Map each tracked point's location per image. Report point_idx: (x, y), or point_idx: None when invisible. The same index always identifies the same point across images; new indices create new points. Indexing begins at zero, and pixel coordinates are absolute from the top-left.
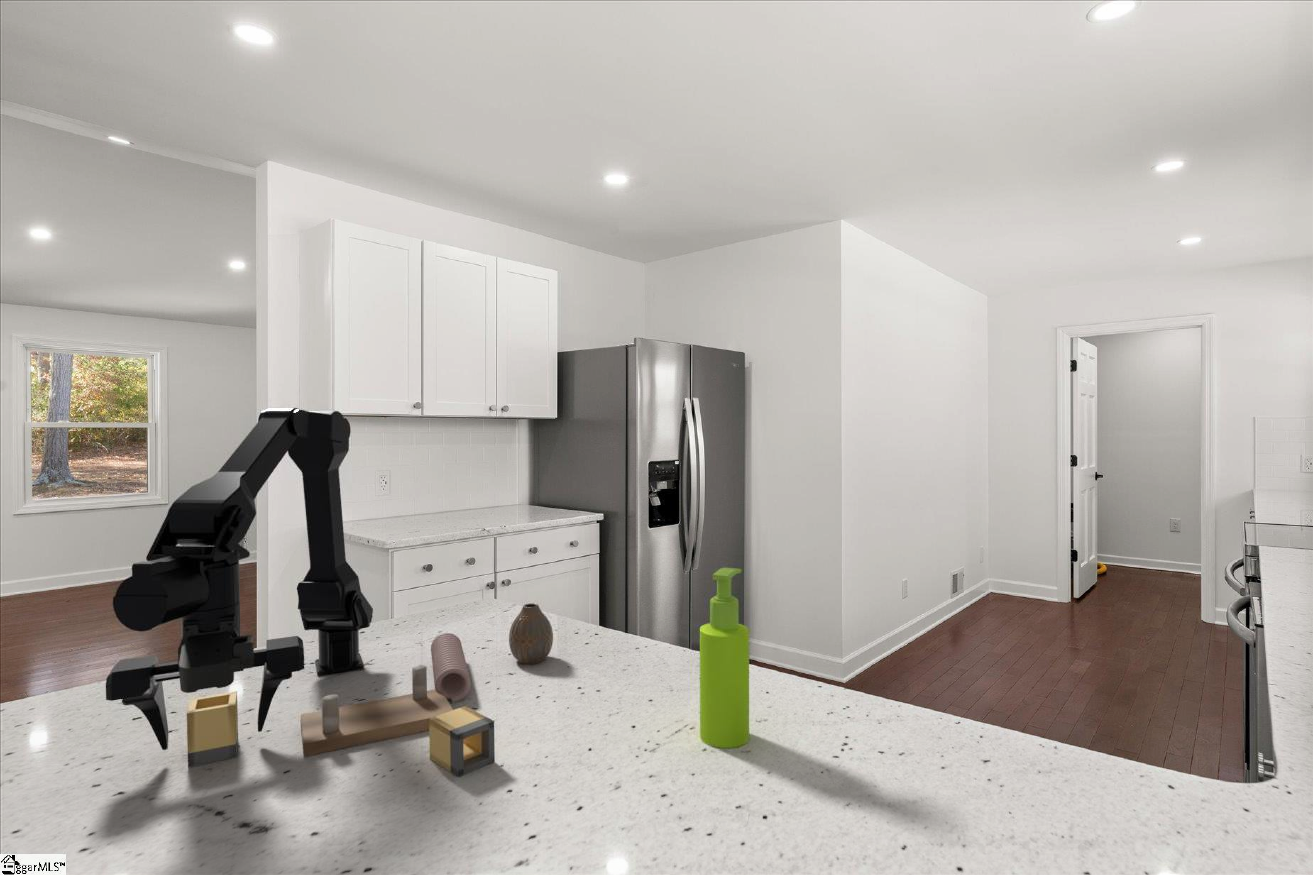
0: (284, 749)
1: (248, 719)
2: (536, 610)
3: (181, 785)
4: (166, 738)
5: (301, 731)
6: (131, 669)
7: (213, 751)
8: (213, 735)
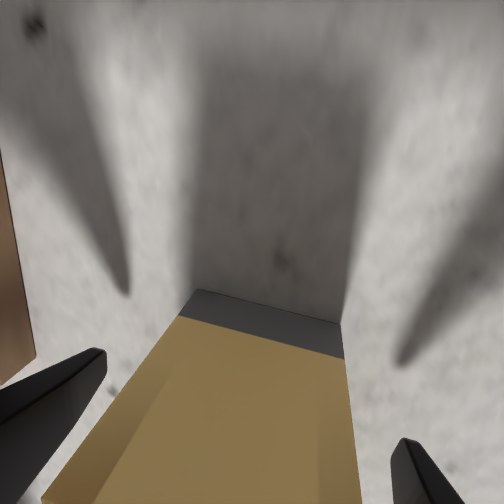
0: (63, 239)
1: None
2: None
3: (396, 186)
4: (421, 484)
5: (15, 309)
6: None
7: (256, 327)
8: (240, 377)
